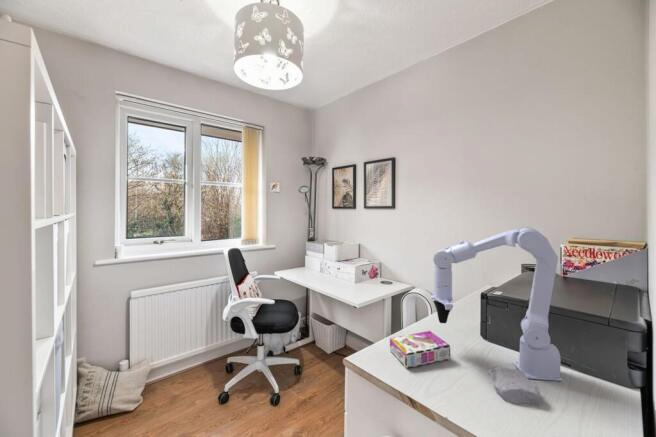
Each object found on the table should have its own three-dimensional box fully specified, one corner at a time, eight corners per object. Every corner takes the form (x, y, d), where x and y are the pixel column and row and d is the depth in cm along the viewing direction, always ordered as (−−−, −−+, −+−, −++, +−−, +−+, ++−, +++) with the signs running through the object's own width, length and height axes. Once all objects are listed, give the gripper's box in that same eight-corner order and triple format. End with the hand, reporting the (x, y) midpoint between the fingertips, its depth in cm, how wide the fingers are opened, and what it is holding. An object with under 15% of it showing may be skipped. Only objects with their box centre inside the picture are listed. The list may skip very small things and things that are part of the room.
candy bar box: (450, 344, 90) (405, 354, 86) (451, 359, 90) (406, 369, 86) (429, 329, 101) (388, 337, 97) (430, 342, 101) (389, 351, 97)
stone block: (503, 410, 71) (546, 407, 70) (499, 391, 72) (542, 388, 70) (486, 382, 83) (522, 379, 81) (482, 366, 83) (519, 363, 81)
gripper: (426, 278, 104) (426, 313, 105) (436, 290, 89) (435, 331, 90) (446, 278, 103) (445, 314, 104) (459, 291, 89) (458, 332, 89)
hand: (442, 322), depth 97 cm, fingers closed
